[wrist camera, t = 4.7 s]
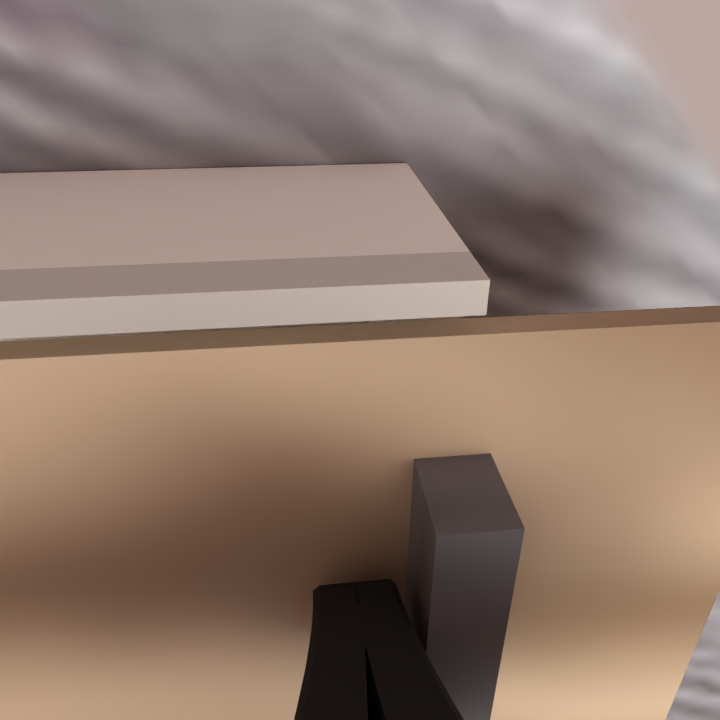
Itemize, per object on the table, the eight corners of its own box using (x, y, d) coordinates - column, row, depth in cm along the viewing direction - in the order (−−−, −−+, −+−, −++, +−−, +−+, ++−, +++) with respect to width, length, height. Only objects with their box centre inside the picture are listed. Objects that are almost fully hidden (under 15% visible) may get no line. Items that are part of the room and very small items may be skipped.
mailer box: (390, 569, 20) (432, 780, 14) (-108, 613, 18) (-257, 865, 13) (407, 163, 13) (490, 279, 8) (-343, 182, 12) (-798, 336, 7)
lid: (653, 700, 15) (704, 798, 13) (20, 772, 14) (-18, 893, 12) (809, 301, 10) (928, 373, 8) (-184, 350, 8) (-307, 452, 7)
